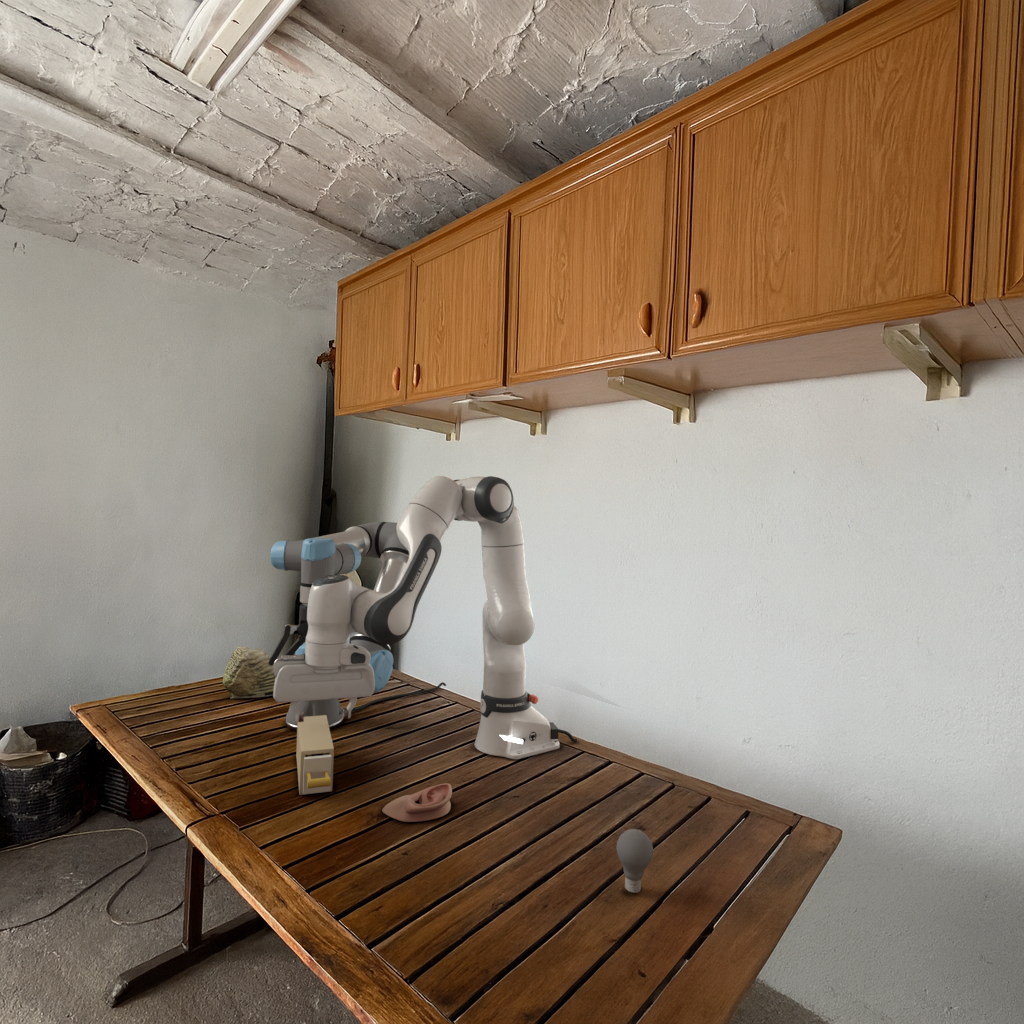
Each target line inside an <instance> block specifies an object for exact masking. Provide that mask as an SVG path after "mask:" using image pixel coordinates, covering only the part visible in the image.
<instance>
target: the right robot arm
mask: <svg viewBox="0 0 1024 1024" xmlns="http://www.w3.org/2000/svg"><path fill="white" fill-rule="evenodd" d="M514 501H515V499H514V493H513V490H512V488H511V486H510V484H509V482H508V481H506V480H505V479H503V478H501V477H498V476H492V475H491V476H490V475H489V476H488V475H487V476H470V477H467V478H462V479H454V480H453V479H452V478H450V477H447V476H443V475H436V476H433V477H431V478H430V479H429V480H428V481H426V482H425V484H424V485H423V486H422V487H421V488H420V489H419V490H418V491H417V492H416V494H414V496H413V497H412V498H411V500H410V501H409V502H408V504H407V505H406V506H405V508H404V509H403V511H402V512H401V515H400V516H399V519H398V520H397V522H396V523H397V526H396V530H397V535H398V538H399V540H400V542H401V543H402V545H403V546H404V547H405V548H406V549H407V550H408V551H409V559H408V562H407V564H406V566H405V568H404V570H403V572H402V574H401V575H400V577H399V579H398V581H397V583H396V585H395V587H394V588H393V589H392V590H391V591H390V592H388V593H385V594H384V593H380V592H377V591H374V589H370V588H368V587H365V586H362V585H360V584H358V583H356V582H355V581H353V580H352V579H350V577H349V576H347V575H346V574H340V575H328V576H324V577H321V578H318V579H317V580H316V581H314V583H313V584H312V587H311V589H310V594H309V599H308V608H307V622H308V633H307V635H306V642H305V654H301V655H295V654H293V655H290V656H289V655H284V654H282V655H281V656H280V657H278V658H277V659H276V661H275V662H274V664H273V674H274V676H275V677H276V678H275V683H274V690H273V695H272V697H273V699H274V701H275V702H276V703H280V704H281V703H290V704H291V706H292V708H293V710H294V712H295V714H296V723H298V722H304V712H303V711H299V710H298V708H297V706H299V701H311V700H326V699H339V700H340V699H348V701H349V703H348V705H347V706H346V707H343V708H342V709H343V714H342V717H343V720H346V719H351V717H352V711H351V710H352V709H353V708H355V706H356V704H357V703H358V698H368V697H369V698H370V697H372V695H373V694H375V693H374V691H375V678H374V671H373V668H372V666H371V665H370V661H371V655H370V653H369V651H368V650H367V649H365V648H364V647H361V646H357V645H353V644H350V643H349V641H350V638H351V635H352V634H353V633H356V634H357V633H359V634H362V635H365V636H368V637H370V638H372V639H374V640H376V641H378V642H379V643H382V644H385V645H389V646H390V645H394V644H397V643H398V642H400V641H402V640H403V639H404V638H405V637H406V636H407V635H408V633H409V632H410V630H411V629H412V626H413V625H414V624H413V623H414V619H415V616H416V612H417V609H418V606H419V604H420V601H421V599H422V597H423V595H424V593H425V591H426V588H427V587H428V584H429V582H430V580H431V578H432V576H433V574H434V572H435V570H436V567H437V565H438V563H439V560H440V557H441V555H442V547H443V546H442V542H443V539H444V537H445V535H446V534H447V532H448V530H449V529H450V527H451V525H452V523H453V522H454V521H457V522H459V521H460V522H461V521H462V522H463V521H465V522H477V523H478V525H479V527H480V531H481V532H480V535H481V536H480V540H481V541H480V542H481V556H482V557H481V558H482V559H481V560H482V574H483V575H482V576H483V580H484V586H485V593H486V598H487V599H486V601H485V602H484V605H483V607H482V611H481V612H482V645H483V646H482V647H483V679H482V680H483V683H482V690H481V692H480V701H479V702H480V703H479V709H480V719H479V725H478V730H477V734H476V738H475V741H474V743H473V744H474V748H475V749H476V750H477V751H480V752H481V753H483V754H487V755H490V756H495V757H504V758H507V759H510V760H520V759H525V758H527V757H532V756H536V755H540V754H544V753H547V752H551V751H555V750H558V749H560V747H561V745H560V741H559V734H562V735H565V736H566V737H568V738H569V740H570V741H571V742H573V743H577V742H578V739H577V738H575V737H573V735H572V733H570V732H569V731H566V730H564V729H560V728H558V726H557V725H556V724H555V723H554V722H553V721H552V722H551V721H549V720H548V719H547V718H546V717H545V716H544V715H543V714H542V713H541V712H539V711H538V710H537V709H536V708H535V707H534V706H532V705H531V704H533V705H537V703H538V702H539V697H538V696H537V695H535V694H531V693H530V692H528V691H526V679H527V659H526V653H525V652H526V651H525V643H527V642H528V641H529V640H530V639H531V638H532V637H533V635H534V632H535V619H534V615H533V609H532V608H533V607H532V600H531V595H530V589H529V583H528V579H527V571H526V556H525V554H526V553H525V541H524V531H523V526H522V525H523V524H522V520H521V516H520V514H519V513H520V512H519V509H518V508H517V507H516V506H515V502H514ZM279 660H282V661H279Z"/></svg>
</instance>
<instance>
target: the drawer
mask: <svg viewBox="0 0 1024 1024" xmlns="http://www.w3.org/2000/svg"><path fill="white" fill-rule="evenodd" d="M331 760H332V756H331V755H327V753H321V754H310V755H305V757H304V772H303V795H310V794H319V793H328V792H329V793H330V792H331V791H330V785H331Z"/></svg>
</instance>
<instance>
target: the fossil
mask: <svg viewBox="0 0 1024 1024" xmlns="http://www.w3.org/2000/svg"><path fill="white" fill-rule="evenodd" d="M269 659H270V656H269V655H268V654H267V653H266V652H265V650H264V649H263V648H260V647H258V648H251V647H247V646H246V647H245V646H238V647H237V648H236V649H235V650H233V651H232V653H231V656H230V657H229V659H228V660H227V663H226V666H225V668H224V671H223V675H222V676H223V677H222V685H223V687H224V688H225V690H226V691H228V693H229V698H230V699H250V698H264V697H271V696H272V697H273V690H274V683H275V678H276V677H275V676H274V674H273V665H272V666H271V665H269Z"/></svg>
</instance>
